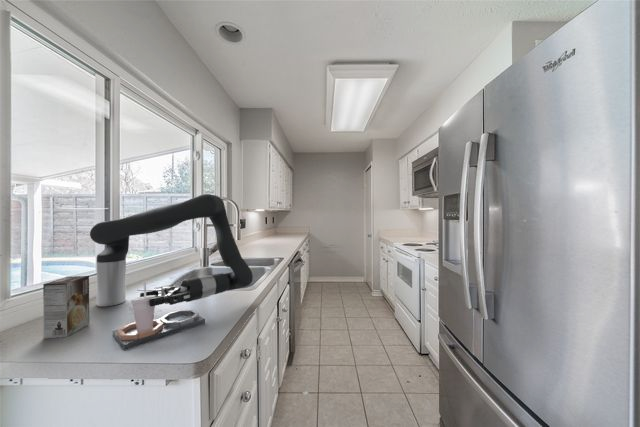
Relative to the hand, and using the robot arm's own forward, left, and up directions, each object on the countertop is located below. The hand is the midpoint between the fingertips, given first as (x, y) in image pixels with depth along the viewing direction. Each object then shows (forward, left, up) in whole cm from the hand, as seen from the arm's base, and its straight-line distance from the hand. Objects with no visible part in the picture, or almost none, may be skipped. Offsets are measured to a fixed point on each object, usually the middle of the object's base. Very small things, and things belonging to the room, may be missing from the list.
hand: (144, 299), depth 77 cm
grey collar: (0, +10, -9) cm, 14 cm away
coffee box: (-21, -14, -11) cm, 28 cm away
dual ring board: (0, +5, -11) cm, 12 cm away
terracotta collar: (0, -1, -9) cm, 9 cm away
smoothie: (+2, 0, -9) cm, 9 cm away
